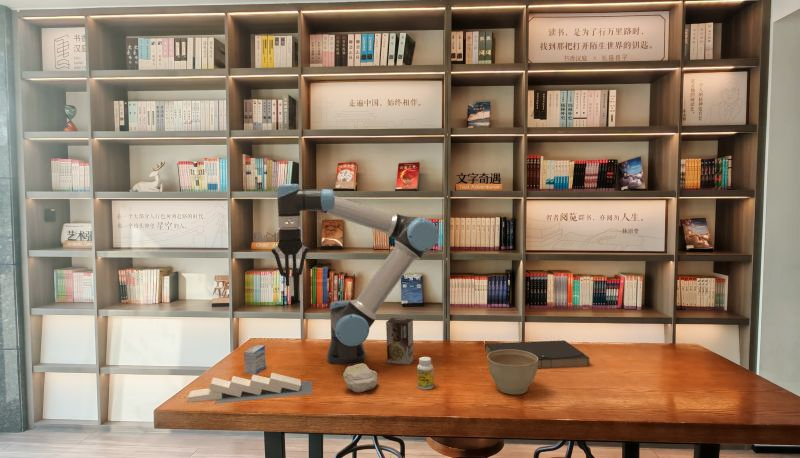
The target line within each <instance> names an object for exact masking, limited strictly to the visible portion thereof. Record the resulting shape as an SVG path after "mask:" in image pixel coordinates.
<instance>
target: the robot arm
mask: <svg viewBox="0 0 800 458" xmlns="http://www.w3.org/2000/svg"><path fill="white" fill-rule="evenodd" d="M305 211H306V212H307V211H308V212H309V211H310V212H313V211H315V212H319V213H323V214H325V215H326V214H327V215H329V216H332V217H335V218H339V219H341V220H343V221H347V222H351V223H354V224H357V225H359V226H363V227H366V228H369V229H373V230H375V231H378V232H381V233H383V234H386V236H387V237H388V238H392V239H394V247H393V249H392V250H391V252H390V253H389V254H388V256H387V257H386V258H385V260H384V262H383V263H382V264H381V266H380V267H379V268H378V270H377V271H376V272H375V274H374V275H373V276H372V277H371V279H370V280H369V281H368V283H367V285H366V286H365V287H364V288H363V290H362V291H361V292H360V294H359V296H357V297H356V299H352V300H351V299H349V300H347V299H346V300H336V301H332V302H331V303H330V306H329V307H330V308H329V312H330V337H331V338H330V342H329V347H328V350H327V352H326V353H327V354H326V359H327V362H328V363H329V364H333V365H356V364H361V363H362V362H363V361H365V360H366V358H367V357H366V356H367V355H366V350H365V349H366V348H365V346H364V342H365V341H366V340H367V339H368V336H369V333H370V328H371V327H372V326H373V324H374V323H375V321H376V320H377V318H376V313H377V311H378V310H379V309H380V307H381V306H382V305H383V303H384V302H385V300H387V298H388V296H389V295H390V294H391V293H392V291H393V289H394V288H395V287H396V285H398V283H399V282H400V281H401V279H402V277H403V276H404V274H406V272H407V271H408V269H409V268H410V266H411V265H412V264H413V263H414V261H417V260H421V259H422V257H423V256H424V254H425V253H426V251H427V252H428V251H430V250H431V249H432V248H434V247H435V245H436V244H437V242H438V238H439V232H438V229H437V227H436V225H435V223H433V222H432V221H431V220H430V219H428V218H425V217H417V216H408V215H407V216H406V215H403V214H402V215H401V214H398V213H394V214H390V213H387V212H384V211H382V210H378V209H375V208H372V207H369V206H366V205H362V204H360V203H358V202H357V203H356V202H354V201H352V200H349V199H344V198H343V197H342V198H341V197H339V196H337V195H335V192H334V190H333V189H328V188H327V189H326V188H323V189H322V188H321V189H320V188H319V189H314V188H313V189H301V188H300V185H299V184H298V183H280V184H279V185H278V186H277V216H278V217H277V221H278V224H277V225H278V228H279V230H278V243H277V246H275V247H273V248H272V249H271V253H272V254H273V255H274V258H275V261H276V265H277V268H278V273H279V275H280V276H281V277H284V278H285V286H286V287H288V290H289V297H294V296H295V289H294V288H295V287H296V286H297V285H298V276H301V275H303V270H304V269H303V268H304V265H305V261H306V256H307V254H308V252H309V249H310V248H309V247H308V246H305V245H303V242H302V234H301V233H302V230H301V227H302V226H301V225H302V224H301V222H302V221H301V212H305ZM300 250H301V252H302V254H301V259H300V263H299V267H298V270H297V255H298V253H299V252H300ZM280 251H281V252H282V254H283V255H284V268H285V269H283V265H282V261H281V258H280V255H279V253H280ZM289 256H292V276H290V259H289V258H290V257H289ZM284 270H285V271H284Z"/></svg>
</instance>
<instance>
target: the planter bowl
mask: <svg viewBox="0 0 800 458" xmlns="http://www.w3.org/2000/svg"><path fill="white" fill-rule="evenodd" d="M486 357H487V358H486V360H487V365H488V370H489V373H490V375H491V377H492V380H493V382H494V383H495V384H496V387H497V389H498V390H499V391H500V392H501V393H504V394H507V395H523V394H525V393H527V392H528V390H529V387H530V386H531V385H532V383H533V381H534V379H535V378H536V375H537V371H538V368H537V363H538V357H537V356H536V355H534V354H532V353H529V352H526V351H521V350H510V349H509V350H497V351H493V352H491V353H488V354H487V356H486Z"/></svg>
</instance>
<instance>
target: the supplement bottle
mask: <svg viewBox="0 0 800 458" xmlns="http://www.w3.org/2000/svg"><path fill="white" fill-rule="evenodd" d="M418 363H419V364H418V365H417V367H416V368H417V370H416V371H417V373H416V374H417V380H416V381H417V387H418V388H419V389H420V390H431V389H432V388H433V387H434V385H435V384H434V383H435V382H434V365H433V364H432V357H429V356H422V357H419V358H418Z"/></svg>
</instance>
